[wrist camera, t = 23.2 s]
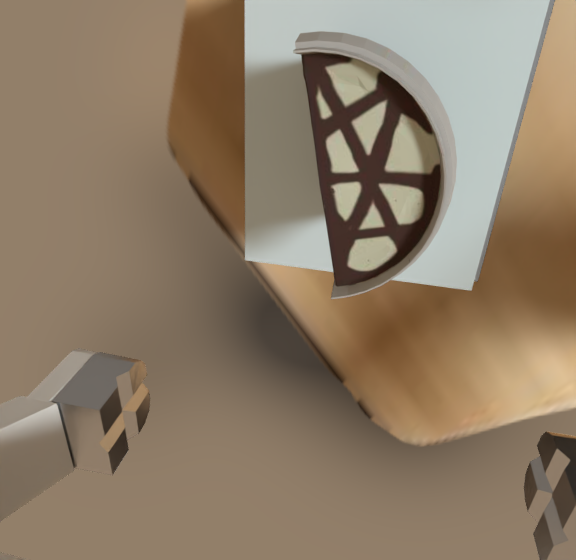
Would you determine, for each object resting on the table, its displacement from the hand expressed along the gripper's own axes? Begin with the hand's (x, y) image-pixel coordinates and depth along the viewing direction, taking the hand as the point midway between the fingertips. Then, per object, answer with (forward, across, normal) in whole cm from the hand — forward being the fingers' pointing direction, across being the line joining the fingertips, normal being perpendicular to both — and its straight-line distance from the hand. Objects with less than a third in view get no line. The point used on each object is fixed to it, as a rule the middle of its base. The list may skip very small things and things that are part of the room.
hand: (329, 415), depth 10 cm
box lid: (+24, 0, 0) cm, 24 cm away
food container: (+23, +1, +1) cm, 23 cm away
